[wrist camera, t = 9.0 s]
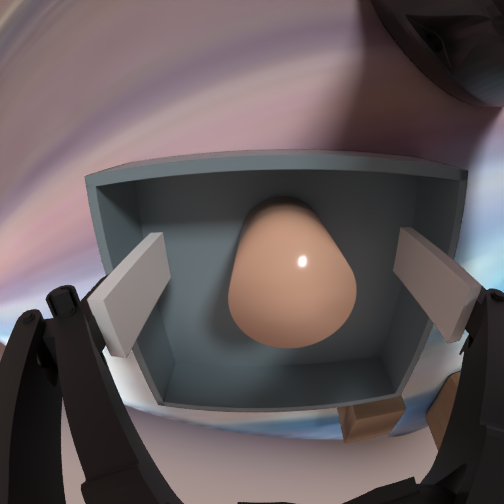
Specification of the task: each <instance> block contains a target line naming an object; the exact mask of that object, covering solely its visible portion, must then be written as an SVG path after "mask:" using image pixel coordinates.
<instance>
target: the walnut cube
mask: <svg viewBox="0 0 504 504" xmlns="http://www.w3.org/2000/svg"><path fill="white" fill-rule="evenodd" d="M337 409H338V414H339V419H340V424H341V429H342V434H343V439H344V443H347V442H354V441H359V440H364V439H369V438H374V437H378V436H383V435H387V434H389V433H390V432H391V431H392V429H393V428H394V427H395V425H396V424H397V422H398V421H399V419H400V418H401V416H402V415H403V413H404V412H405V410H406V407H405V405H404V402H403V399H402V397H401V394H400V396H398V397H394V398H389V399H384V400H379V401H374V402H368V403H362V404H356V405H350V406H343V407H337Z"/></svg>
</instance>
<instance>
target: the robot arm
mask: <svg viewBox="0 0 504 504" xmlns="http://www.w3.org/2000/svg"><path fill="white" fill-rule="evenodd" d="M371 1H372V3H373V5H374V7H375V9H376V11H377V13H378V15H379V17H380V19H381V20H382V22H383V24H384V25H385V27H386V28H387V30H388V31H389V33H390V34H391V36H392V37H393V38H394V40H395V41H396V42H397V44H398V45H399V46H400V48H401V49H402V50H403V51H404V52H405V54H406V55H407V56H408V57H409V58H410V59H411V60H412V62H413V63H414V64H415V65H416V66H417V67H418V68H419V69H420V70H421V71H422V72H423V73H424V74H425V75H426V76H427V77H428V78H430V79H431V80H432V81H433V82H434V83H435V84H437V85H438V86H439V87H440V88H442V89H443V90H444V91H446V92H447V93H449V94H450V95H452V96H454V97H455V98H457V99H459V100H461V101H463V102H466V103H468V104H471V105H475V106H491V107H502V106H504V0H371ZM393 271H394V273H395V274H396V275H397V276H398V277H399V279H400V280H401V281H402V282H403V284H404V285H405V286H406V287H407V289H408V290H409V291H410V293H411V294H412V295H413V296H414V298H415V299H416V300H417V302H418V303H419V304H420V306H421V307H422V308H423V310H424V311H425V312H426V314H427V315H428V316H429V318H430V319H431V320H432V322H433V323H434V325H435V326H436V327H437V329H438V330H439V332H440V333H441V335H442V336H443V337H444V339H445V340H446V342H447V343H452V342H456V341H459V340H460V339H461V337H462V334H463V332H464V330H465V329H466V331H467V332H468V333H469V335H468V337H467V339H466V341H465V343H464V345H463V347H462V349H461V351H460V353H459V354H460V355H461V354H462V352H464V356H463V362H462V368H461V373H460V378H459V383H458V388H457V392H456V396H455V400H454V404H453V408H452V412H451V415H450V419H449V422H448V425H447V428H446V431H445V434H444V437H443V440H442V443H441V446H440V448H439V451H438V454H437V456H436V459H435V461H434V464H433V466H432V468H431V470H430V471H429V473H428V474H427V475H426V476H425V478H424V479H423V480H422V482H421V483H420V484H416V482H415V479H414V477H411V478H408V479H405V480H402V481H399V482H396V483H392V484H389V485H386V486H382V487H378V488H376V489H374V490H372V491H369V492H367V493H365V494H363V495H361V496H359V497H357V498H354V499H352V500H350V501H348V502H345V503H343V504H504V293H503V292H502V291H500V290H497V289H488V290H486V289H485V288H484V287H483V286H482V285H481V284H480V283H479V282H477V281H476V280H475V279H474V278H473V277H472V276H471V275H470V274H469V273H468V272H466V271H465V270H464V269H463V268H462V267H461V266H459V265H458V264H457V263H456V262H455V261H454V260H452V259H451V258H450V257H449V256H448V255H446V254H445V253H444V252H443V251H442V250H440V249H439V248H438V247H437V246H435V245H434V244H433V243H431V242H430V241H429V240H428V239H426V238H425V237H424V236H422V235H421V234H420V233H418V232H417V231H416V230H414V229H413V228H412V227H400V233H399V240H398V246H397V252H396V257H395V263H394V268H393ZM170 278H171V275H170V270H169V265H168V259H167V254H166V248H165V242H164V236H163V232H158V233H150V234H149V235H148V236H147V237H146V238H145V239H144V240H143V241H141V242H140V243H139V244H138V245H137V246H136V247H135V248H134V249H133V250H132V252H131V253H130V254H129V255H128V256H127V257H126V258H125V259H124V260H123V261H122V262H121V263H120V264H119V265H118V266H117V267H116V268H115V269H114V270H113V271H112V272H111V273H110V274H108V275H106V276H105V277H103V278H102V279H100V280H99V282H98V283H97V284H96V285H95V286H94V287H93V288H92V289H91V291H89V292H88V294H87V295H86V296H85V297H84V298H83V299H82V300H81V301H80V300H79V297H78V294H77V292H76V289H75V287H74V286H72V285H64V286H60V287H58V288H56V289H54V290H53V291H51V292H50V293H49V294H48V295H47V297H46V301H47V304H48V306H49V308H50V311H51V313H52V315H53V317H54V318H51V319H43V316H42V314H41V312H40V311H39V310H37V309H33V310H28V311H26V312H24V313H23V314H22V315H21V316H20V317H19V318H18V320H17V321H16V324H15V326H14V328H13V331H12V333H11V335H10V338H9V340H8V343H7V345H6V348H5V351H4V353H3V356H2V359H1V362H0V504H66V501H65V494H64V485H63V475H62V460H61V410H62V396H63V400H64V406H65V410H66V415H67V419H68V423H69V427H70V431H71V434H72V438H73V441H74V445H75V448H76V451H77V454H78V457H79V460H80V463H81V466H82V469H83V471H84V474H85V478H86V481H85V482H84V483H83V484H81V492H82V495H83V498H84V501H85V503H86V504H184V503H182V501H181V500H180V499H179V498H178V497H177V496H176V494H175V493H174V492H173V490H172V489H171V488H170V486H169V485H168V483H167V482H166V480H165V479H164V477H163V475H162V474H161V473H160V471H159V469H158V468H157V466H156V465H155V463H154V461H153V459H152V458H151V456H150V454H149V453H148V451H147V449H146V447H145V445H144V444H143V442H142V440H141V438H140V436H139V434H138V432H137V431H136V429H135V427H134V425H133V423H132V421H131V419H130V417H129V415H128V412H127V410H126V408H125V406H124V404H123V401H122V399H121V397H120V395H119V392H118V390H117V388H116V385H115V383H114V380H113V378H112V375H111V373H110V370H109V367H108V365H107V362H106V359H105V357H104V355H103V353H102V351H103V349H104V347H105V346H107V348H108V351H109V353H110V355H111V356H116V357H122V358H127V356H128V354H129V352H130V350H131V348H132V347H133V345H134V343H135V341H136V339H137V337H138V335H139V333H140V331H141V330H142V328H143V326H144V324H145V322H146V320H147V318H148V317H149V315H150V313H151V311H152V309H153V308H154V306H155V304H156V302H157V300H158V299H159V297H160V295H161V293H162V292H163V290H164V288H165V286H166V285H167V283H168V281H169V280H170ZM238 504H294V503H287V502H275V503H249V502H238Z"/></svg>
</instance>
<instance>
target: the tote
mask: <svg viewBox="0 0 504 504" xmlns="http://www.w3.org/2000/svg"><path fill="white" fill-rule="evenodd" d="M467 179H468V171H467V170H464V169H461V168H457V167H454V166H450V165H446V164H443V163H439V162H435V161H431V160H427V159H423V158H416V157H409V156H400V155H391V154H381V153H370V152H356V151H339V150H307V149H277V150H245V151H227V152H213V153H201V154H191V155H181V156H173V157H165V158H157V159H150V160H143V161H137V162H131V163H126V164H123V165H119V166H116V167H112V168H109V169H105V170H102V171H99V172H96V173H93V174H90V175H87V176H85V182H86V189H87V195H88V201H89V206H90V212H91V217H92V221H93V226H94V231H95V235H96V239H97V244H98V248H99V252H100V255H101V259H102V263H103V266H104V270H105V274H106V275H108V274H110V273H111V272H112V271H113V270H114V269H115V268H116V267H117V266H118V265H119V264H120V263H121V262H122V261H123V260H124V259H125V258H126V257H127V256H128V255H129V254H130V253H131V252H132V250H133V249H134V248H135V247H136V246H137V245H138V244H139V243H140V242H141V241H143V240H144V239H145V238H146V237H147V236H148V235H149V234H150V233H158V232H163V236H164V242H165V248H166V254H167V259H168V265H169V270H170V275H171V278H170V280H169V281H168V283H167V285H166V286H165V288H164V290H163V292H162V293H161V295H160V297H159V299H158V300H157V302H156V304H155V306H154V308H153V309H152V311H151V313H150V315H149V317H148V318H147V320H146V322H145V324H144V326H143V328H142V330H141V331H140V333H139V335H138V337H137V339H136V341H135V343H134V345H133V347H132V350H133V353H134V355H135V357H136V360H137V362H138V364H139V366H140V369H141V371H142V373H143V375H144V377H145V379H146V381H147V384H148V386H149V388H150V390H151V392H152V394H153V396H154V398H155V400H156V402H157V403H158V405H162V406H169V407H177V408H185V409H196V410H208V411H224V412H287V411H304V410H316V409H326V408H335V407H343V406H350V405H356V404H362V403H368V402H374V401H379V400H384V399H389V398H394V397H398V396H400V394H401V393H402V391H403V389H404V387H405V385H406V383H407V381H408V379H409V377H410V376H411V374H412V372H413V369H414V367H415V365H416V363H417V361H418V359H419V357H420V355H421V352H422V350H423V348H424V346H425V343H426V341H427V339H428V336H429V334H430V331H431V329H432V326H433V324H434V323H433V322H432V320H431V319H430V318H429V316H428V315H427V314H426V312H425V311H424V310H423V308H422V307H421V306H420V304H419V303H418V302H417V300H416V299H415V298H414V296H413V295H412V294H411V293H410V291H409V290H408V289H407V287H406V286H405V285H404V284H403V282H402V281H401V280H400V279H399V277H398V276H397V275H396V274H395V273H394V271H393V268H394V263H395V257H396V252H397V246H398V240H399V233H400V227H412V228H413V229H414V230H416V231H417V232H418V233H420V234H421V235H422V236H424V237H425V238H426V239H428V240H429V241H430V242H431V243H433V244H434V245H435V246H437V247H438V248H439V249H440V250H442V251H443V252H444V253H445V254H446V255H448V256H449V257H450V258H451V259H452V260H454V256H455V252H456V248H457V243H458V239H459V234H460V229H461V223H462V217H463V211H464V204H465V197H466V189H467ZM276 196H289V197H294V198H297V199H299V200H302V201H304V202H305V203H306V204H308V205H309V206H310V207H311V208H312V209H313V210H314V211H315V212H316V214H317V215H318V217H319V218H320V220H321V221H322V223H323V225H324V226H325V228H326V229H327V231H328V232H329V234H330V235H331V237H332V238H333V240H334V242H335V243H336V245H337V246H338V248H339V250H340V251H341V253H342V254H343V256H344V258H345V259H346V261H347V263H348V264H349V266H350V268H351V270H352V271H353V274H354V277H355V281H356V291H357V292H356V300H355V304H354V307H353V309H352V311H351V313H350V315H349V317H348V318H347V320H346V321H345V322H344V324H343V325H342V326H341V327H340V328H339V329H338V330H337V331H335V332H334V333H333V334H332V335H330V336H329V337H327V338H325V339H323V340H321V341H320V342H317V343H314V344H312V345H308V346H304V347H299V348H277V347H272V346H268V345H265V344H262V343H260V342H258V341H255V340H254V339H252V338H250V337H249V336H248V335H246V334H245V333H244V332H243V331H242V330H241V329H240V328H239V327H238V325H237V324H236V323H235V321H234V319H233V317H232V315H231V312H230V309H229V304H228V293H229V287H230V282H231V277H232V272H233V267H234V262H235V258H236V253H237V248H238V243H239V238H240V234H241V229H242V225H243V222H244V220H245V217H246V216H247V214H248V213H249V212H250V210H251V209H252V208H253V207H254V206H255V205H257V204H258V203H260V202H261V201H263V200H265V199H268V198H271V197H276Z"/></svg>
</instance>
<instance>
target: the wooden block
mask: <svg viewBox="0 0 504 504" xmlns="http://www.w3.org/2000/svg"><path fill="white" fill-rule="evenodd" d="M460 373H461V371H460V372H457V373H454V374H453V375H451V376H450V377H449V378H448V379H447V381H446V383H445V385H444V386H443V388H442V390H441V391H440V393H439V395H438V396H437V398H436V399H435V401H434V403H433V404H432V406H431V407H430V409H429V410H428V412H427V413H426V420H427V423H428V425H429V428H430V430H431V433H432V436H433V438H434V441H435V444H436V446H437V449H438V451H439V448H440V446H441V443H442V440H443V437H444V434H445V431H446V428H447V425H448V422H449V419H450V415H451V412H452V408H453V404H454V400H455V396H456V392H457V388H458V383H459V378H460Z"/></svg>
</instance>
